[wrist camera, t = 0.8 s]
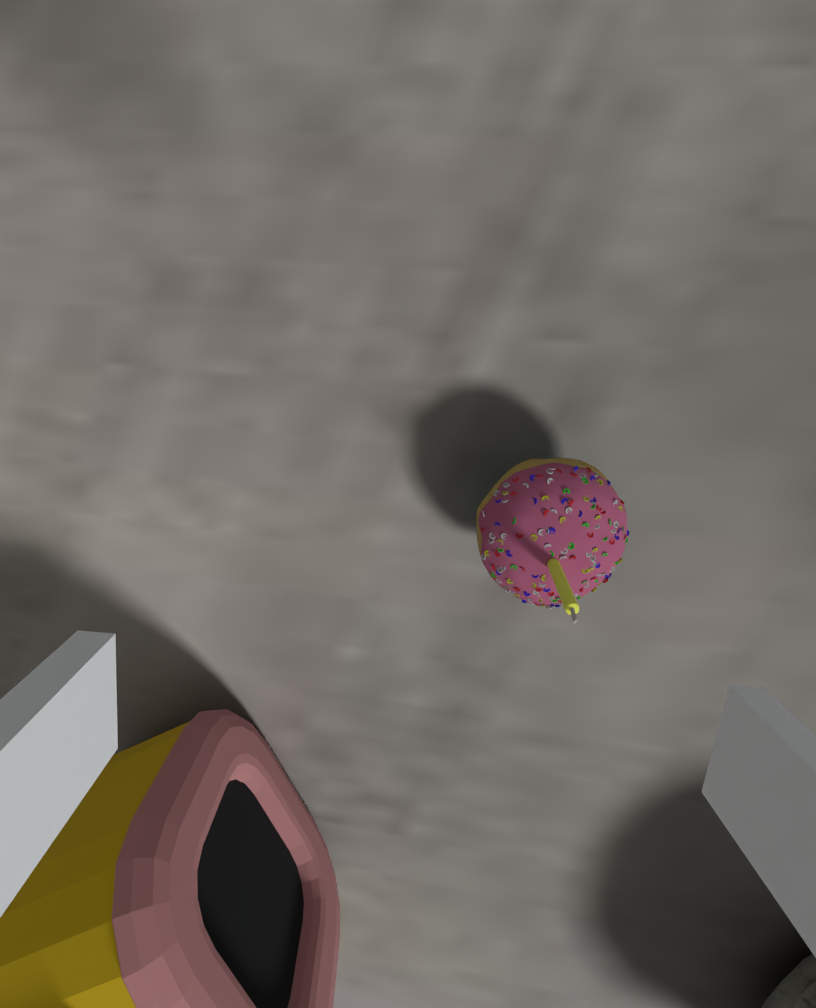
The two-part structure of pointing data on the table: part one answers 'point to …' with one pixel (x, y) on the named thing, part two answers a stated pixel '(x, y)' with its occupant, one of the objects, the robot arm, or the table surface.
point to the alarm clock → (179, 886)
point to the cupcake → (551, 531)
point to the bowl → (796, 987)
